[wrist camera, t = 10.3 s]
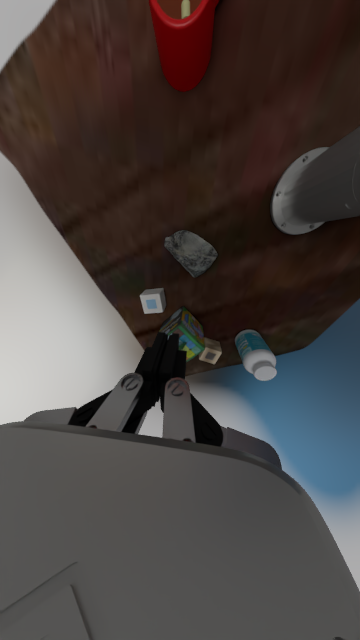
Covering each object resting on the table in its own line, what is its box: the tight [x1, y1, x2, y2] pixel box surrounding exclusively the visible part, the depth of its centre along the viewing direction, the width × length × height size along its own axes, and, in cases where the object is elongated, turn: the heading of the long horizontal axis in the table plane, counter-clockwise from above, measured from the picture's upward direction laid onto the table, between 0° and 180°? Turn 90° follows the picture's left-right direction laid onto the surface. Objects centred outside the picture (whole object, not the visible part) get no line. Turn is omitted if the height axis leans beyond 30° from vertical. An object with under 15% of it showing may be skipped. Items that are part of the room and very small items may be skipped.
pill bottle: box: [235, 330, 277, 381], centre depth 38 cm, size 8×7×14 cm
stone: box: [164, 230, 218, 277], centre depth 31 cm, size 10×10×10 cm
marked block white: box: [140, 288, 166, 314], centre depth 38 cm, size 5×5×5 cm
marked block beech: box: [199, 338, 222, 364], centre depth 45 cm, size 5×5×5 cm
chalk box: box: [159, 306, 205, 362], centre depth 37 cm, size 9×9×15 cm
